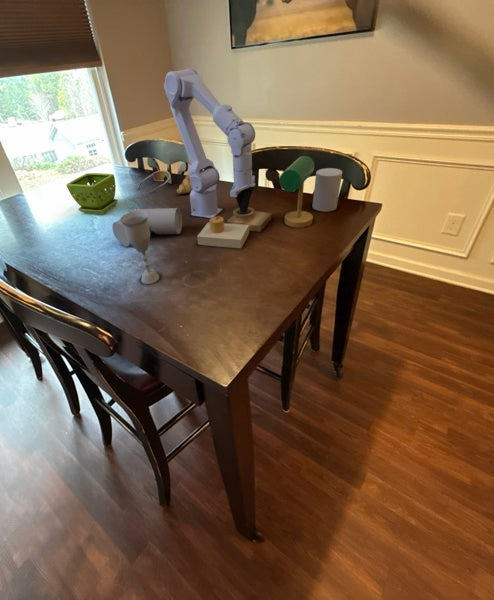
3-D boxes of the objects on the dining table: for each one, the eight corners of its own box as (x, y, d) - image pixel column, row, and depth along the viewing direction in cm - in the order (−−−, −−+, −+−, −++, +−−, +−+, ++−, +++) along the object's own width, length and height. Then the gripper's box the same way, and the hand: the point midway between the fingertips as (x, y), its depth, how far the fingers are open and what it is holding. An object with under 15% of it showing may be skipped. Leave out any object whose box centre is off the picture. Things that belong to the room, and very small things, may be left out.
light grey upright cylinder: (337, 211, 107) (343, 175, 99) (313, 211, 109) (317, 176, 101) (335, 202, 113) (340, 167, 105) (311, 202, 115) (315, 168, 107)
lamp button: (235, 217, 106) (235, 212, 104) (240, 212, 108) (240, 207, 107) (247, 218, 104) (247, 213, 103) (252, 213, 106) (252, 208, 105)
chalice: (139, 272, 89) (122, 213, 78) (162, 269, 89) (148, 209, 78) (136, 287, 83) (117, 225, 72) (162, 284, 83) (146, 221, 72)
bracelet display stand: (277, 228, 102) (279, 169, 90) (291, 211, 111) (295, 155, 99) (305, 232, 97) (312, 171, 86) (317, 214, 106) (324, 156, 95)
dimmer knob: (221, 233, 96) (221, 222, 94) (208, 232, 98) (207, 221, 95) (226, 227, 99) (225, 215, 97) (213, 226, 101) (212, 215, 98)
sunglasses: (178, 182, 147) (175, 172, 144) (155, 197, 141) (152, 187, 137) (158, 178, 155) (155, 168, 152) (136, 192, 149) (132, 182, 145)
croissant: (184, 204, 134) (188, 190, 128) (167, 191, 136) (170, 175, 130) (214, 187, 146) (219, 173, 139) (199, 175, 148) (203, 160, 141)
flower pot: (76, 215, 129) (64, 184, 121) (97, 202, 138) (87, 172, 130) (103, 217, 124) (93, 185, 116) (123, 203, 133) (114, 173, 126)
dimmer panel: (198, 244, 98) (197, 235, 96) (208, 230, 106) (208, 221, 104) (241, 248, 94) (240, 239, 92) (249, 233, 101) (249, 224, 99)
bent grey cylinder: (155, 215, 117) (111, 238, 105) (153, 189, 109) (106, 210, 98) (190, 235, 110) (147, 261, 98) (191, 208, 102) (145, 234, 91)
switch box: (227, 226, 106) (226, 215, 104) (239, 215, 113) (239, 204, 110) (260, 232, 101) (260, 220, 98) (271, 219, 107) (271, 208, 105)
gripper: (244, 177, 90) (245, 221, 98) (263, 162, 99) (263, 203, 108) (222, 175, 93) (225, 218, 102) (243, 161, 103) (244, 201, 111)
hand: (243, 210), depth 105 cm, fingers closed, pressing on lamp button
